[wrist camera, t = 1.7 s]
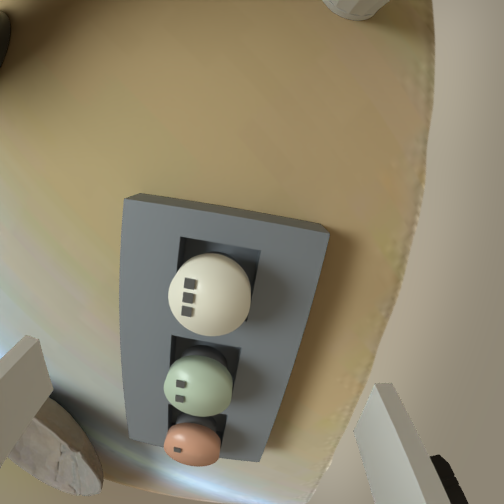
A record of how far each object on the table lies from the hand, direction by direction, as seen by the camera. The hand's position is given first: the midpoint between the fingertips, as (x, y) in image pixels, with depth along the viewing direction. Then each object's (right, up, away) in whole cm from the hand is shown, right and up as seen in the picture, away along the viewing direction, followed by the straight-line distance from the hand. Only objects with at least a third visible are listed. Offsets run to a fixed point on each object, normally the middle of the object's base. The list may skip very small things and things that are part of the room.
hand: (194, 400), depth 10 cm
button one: (-5, -16, +24) cm, 29 cm away
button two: (-3, -6, +21) cm, 22 cm away
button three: (-1, +3, +18) cm, 18 cm away
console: (-3, -5, +24) cm, 25 cm away
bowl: (-33, -23, +30) cm, 49 cm away
